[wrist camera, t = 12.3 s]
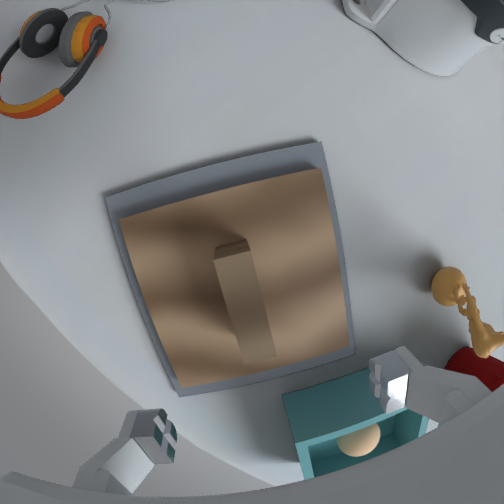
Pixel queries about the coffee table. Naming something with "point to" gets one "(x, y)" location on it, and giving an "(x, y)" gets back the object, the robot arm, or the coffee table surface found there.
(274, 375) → the mat
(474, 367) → the plastic cup
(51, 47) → the headphones
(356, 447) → the ball
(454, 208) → the coffee table surface
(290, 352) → the lid
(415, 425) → the open box
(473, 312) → the figurine
